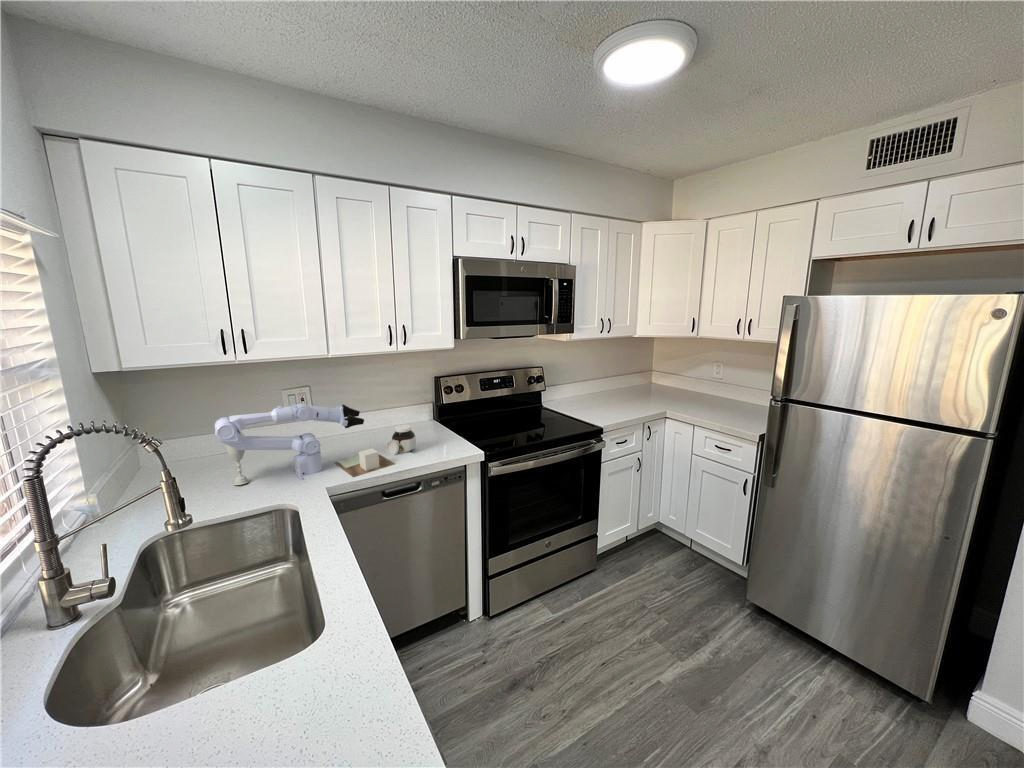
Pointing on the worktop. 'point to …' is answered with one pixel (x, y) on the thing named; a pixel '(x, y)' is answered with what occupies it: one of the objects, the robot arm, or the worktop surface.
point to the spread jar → (401, 440)
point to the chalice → (237, 456)
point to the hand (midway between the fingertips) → (361, 417)
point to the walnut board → (358, 470)
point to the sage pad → (350, 462)
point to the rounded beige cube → (369, 459)
